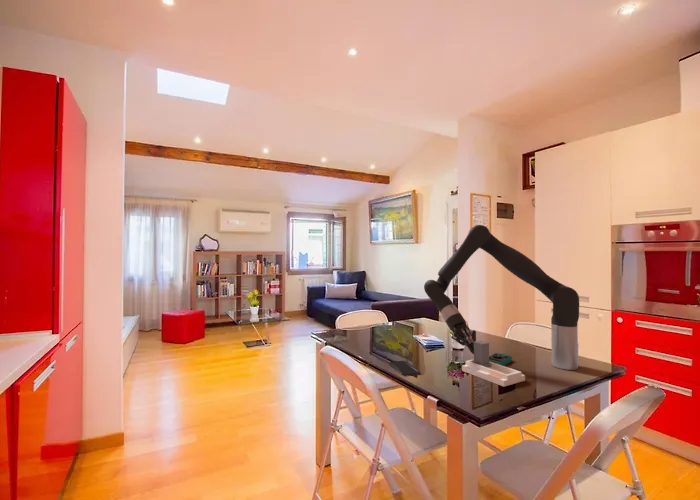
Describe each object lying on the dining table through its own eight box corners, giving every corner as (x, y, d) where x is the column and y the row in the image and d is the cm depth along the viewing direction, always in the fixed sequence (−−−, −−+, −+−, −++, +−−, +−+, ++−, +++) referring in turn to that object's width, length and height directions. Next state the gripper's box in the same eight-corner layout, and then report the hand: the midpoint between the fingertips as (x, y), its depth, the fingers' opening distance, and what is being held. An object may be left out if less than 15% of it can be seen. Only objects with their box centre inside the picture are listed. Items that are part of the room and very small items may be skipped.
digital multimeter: (512, 361, 149) (512, 355, 149) (499, 370, 138) (499, 362, 138) (495, 358, 154) (495, 351, 154) (482, 365, 143) (481, 358, 143)
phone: (405, 360, 147) (421, 372, 132) (405, 363, 147) (421, 375, 132) (387, 362, 145) (402, 373, 130) (387, 364, 145) (402, 376, 130)
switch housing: (482, 365, 142) (482, 357, 142) (525, 380, 125) (525, 371, 125) (461, 370, 136) (461, 361, 136) (503, 386, 120) (503, 376, 120)
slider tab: (480, 362, 138) (480, 340, 139) (490, 366, 134) (490, 343, 134) (472, 364, 136) (472, 341, 136) (482, 368, 132) (482, 344, 132)
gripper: (446, 313, 143) (469, 350, 132) (468, 311, 150) (492, 345, 139) (437, 324, 148) (458, 360, 137) (459, 321, 154) (481, 355, 143)
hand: (475, 352), depth 138 cm, fingers closed
